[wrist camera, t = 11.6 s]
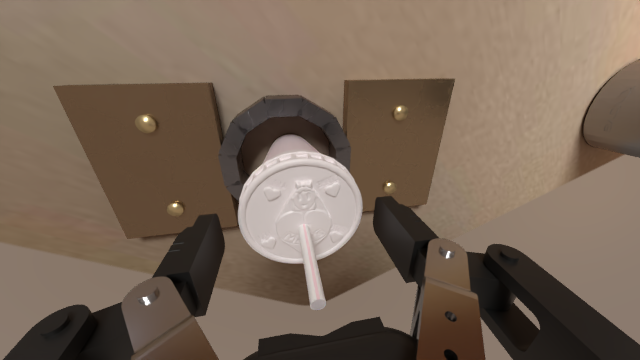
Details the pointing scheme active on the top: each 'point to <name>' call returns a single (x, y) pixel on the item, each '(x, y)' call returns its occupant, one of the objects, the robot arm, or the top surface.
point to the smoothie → (299, 208)
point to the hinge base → (225, 154)
